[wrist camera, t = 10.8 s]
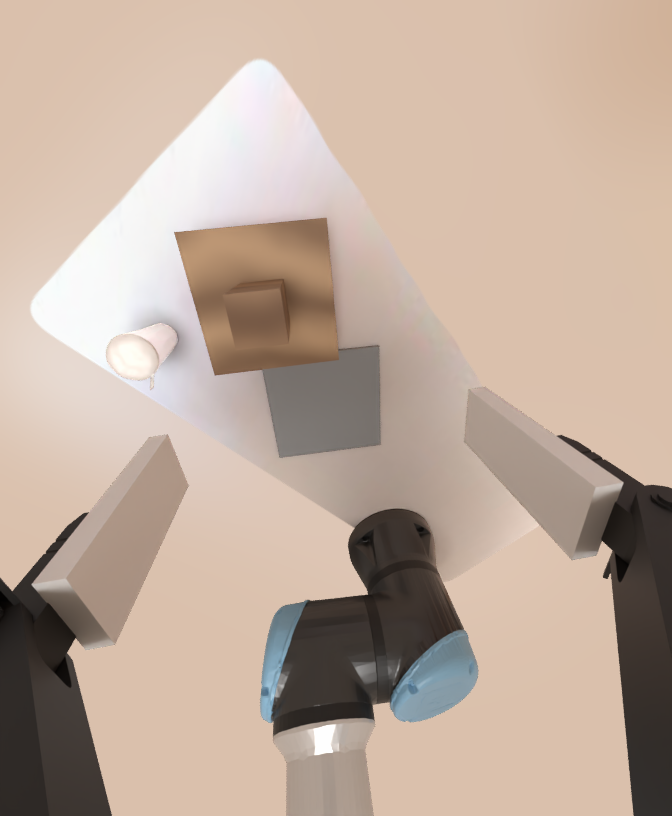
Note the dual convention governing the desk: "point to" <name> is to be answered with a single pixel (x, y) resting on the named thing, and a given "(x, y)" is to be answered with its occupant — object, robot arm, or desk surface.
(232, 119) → the desk surface
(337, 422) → the mat
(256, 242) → the lid
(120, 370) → the milkshake
